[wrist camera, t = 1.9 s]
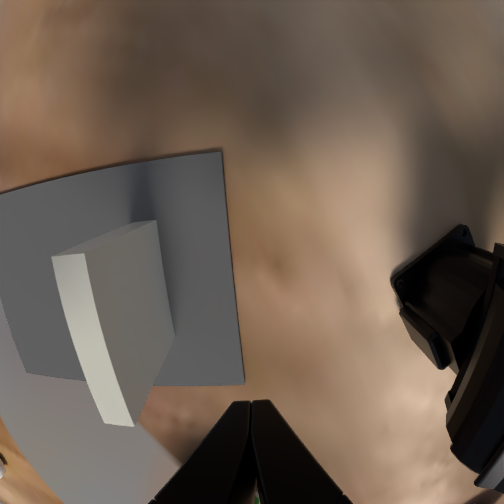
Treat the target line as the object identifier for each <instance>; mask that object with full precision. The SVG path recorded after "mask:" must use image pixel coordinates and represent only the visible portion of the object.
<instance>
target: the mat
mask: <svg viewBox="0 0 504 504" xmlns="http://www.w3.org/2000/svg"><path fill="white" fill-rule="evenodd" d="M150 220H157V227H158V235H159V243H160V250H161V257H162V263H163V270H164V276H165V283H166V289H167V295H168V300H169V306H170V311H171V317H172V322H173V327H174V332H175V338H174V340H173V343H172V345H171V347H170V349H169V351H168V353H167V356H166V358H165V360H164V362H163V364H162V366H161V369H160V371H159V373H158V375H157V377H156V380H155V382H154V384H153V386H221V385H244V384H245V377H244V369H243V360H242V352H241V343H240V334H239V325H238V316H237V307H236V297H235V288H234V278H233V268H232V259H231V248H230V238H229V228H228V217H227V206H226V195H225V184H224V173H223V161H222V152H212V153H203V154H195V155H187V156H179V157H172V158H165V159H158V160H152V161H146V162H140V163H134V164H128V165H122V166H117V167H112V168H106V169H101V170H96V171H92V172H87V173H82V174H78V175H73V176H69V177H64V178H60V179H56V180H52V181H48V182H44V183H40V184H36V185H33V186H29V187H25V188H22V189H18V190H14V191H11V192H8V193H4V194H1V195H0V297H1V301H2V304H3V308H4V311H5V314H6V318H7V321H8V324H9V327H10V330H11V333H12V336H13V339H14V341H15V344H16V347H17V350H18V352H19V355H20V358H21V360H22V362H23V365H24V368H25V370H26V372H27V373H32V374H38V375H44V376H51V377H58V378H66V379H74V380H82V381H86V378H85V375H84V373H83V370H82V367H81V364H80V361H79V359H78V356H77V353H76V350H75V347H74V344H73V340H72V337H71V334H70V331H69V327H68V324H67V321H66V317H65V313H64V310H63V306H62V302H61V298H60V294H59V290H58V286H57V281H56V277H55V272H54V268H53V263H52V258H51V257H52V256H54V255H56V254H58V253H61V252H63V251H65V250H67V249H70V248H72V247H74V246H77V245H79V244H81V243H84V242H86V241H88V240H91V239H93V238H96V237H98V236H100V235H103V234H105V233H108V232H110V231H113V230H115V229H118V228H120V227H123V226H125V225H128V224H130V223H133V222H141V221H150Z"/></svg>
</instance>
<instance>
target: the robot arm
mask: <svg viewBox="0 0 504 504" xmlns="http://www.w3.org/2000/svg"><path fill="white" fill-rule="evenodd" d="M462 230H463V234H462V235H461V231H462ZM400 279H401V280H402V281H401V284H400V285H397V282H398V281H399V280H400ZM391 286H392V288H393V290H394V292H395V294H396V296H397V298H398V300H399V302H400V304H401V306H402V308H401V309H400V312H399V314H400V316H401V318H402V320H403V322H404V324H405V326H406V329H407V331H408V333H409V335H410V337H411V339H412V340H413V341H414V343H415V344H416V345H417V346H418V347H419V348H420V349H421V350H422V351H423V353H424V354H425V355H426V356H427V357H428V358H429V359H430V360H431V361H432V363H433V364H434V365H435V366H436V367H437V368H438V369H440V370H444V369H445V368H446V367H447V366H449V367H450V368H451V369H452V370H453V371H454V373H455V374H456V375H457V377H456V379H455V382H454V384H453V386H452V388H451V390H450V391H448V393H447V395H446V397H445V404H446V408H447V414H446V428H447V431H448V433H449V436H450V439H451V441H452V444H451V446H450V449H451V452H452V453H453V454H454V455H455V457H456V458H457V459H458V460H459V461H460V462H461V463H462V464H463V465H464V466H466V467H467V468H468V469H470V470H471V471H473V472H475V473H477V474H479V475H478V477H477V478H476V479H475V481H474V485H475V486H477V487H482V488H488V489H494V490H496V491H499V492H502V493H504V244H501V243H495V245H494V250H493V253H491V252H489V251H486V250H484V249H481V248H478V247H476V246H475V244H474V241H473V238H472V236H471V233H470V230H469V228H468V226H466V225H463V224H460V225H458V226H457V227H455V228H454V229H453V230H452V231H451V232H449V233H448V234H447V235H446V236H444V237H443V238H442V239H441V240H440V241H438V242H437V243H436V244H435V245H433V246H432V247H431V248H429V249H428V250H427V251H426V252H424V253H423V254H422V255H421V256H419V257H418V258H417V259H415V260H414V261H413V262H411V263H410V264H409V265H407V266H406V267H405V268H403V269H402V270H401V271H399V272H398V273H397V274H395V275H394V276H393V277H392V279H391ZM256 481H257V488H258V494H259V499H260V504H353V503H352V502H351V500H350V499H349V498H348V497H347V496H346V495H343V491H342V490H341V489H340V488H339V487H338V486H337V484H336V483H335V482H334V481H333V480H332V478H331V477H330V476H329V475H328V474H327V472H326V471H325V470H324V469H323V468H322V466H321V465H320V464H319V463H318V461H317V460H316V459H315V458H314V456H313V455H312V454H311V453H310V451H309V450H308V449H307V448H306V446H305V445H304V444H303V443H302V441H301V440H300V439H299V437H298V436H297V435H296V434H295V432H294V431H293V430H292V428H291V427H290V426H289V424H288V423H287V422H286V420H285V419H284V418H283V416H282V415H281V414H280V412H279V411H278V410H277V408H276V407H275V406H274V404H273V403H272V402H271V401H270V400H269V399H264V400H254V401H252V403H251V402H250V401H234V402H232V404H231V405H230V406H229V407H228V409H227V410H226V411H225V413H224V414H223V415H222V417H221V418H220V419H219V420H218V422H217V423H216V424H215V425H214V427H213V428H212V429H211V431H210V432H209V433H208V434H207V436H206V437H205V438H204V439H203V440H202V442H201V443H200V444H199V445H198V447H197V448H196V449H195V450H194V452H193V453H192V454H191V455H190V456H189V458H188V459H187V460H186V461H185V462H184V464H183V465H182V466H181V467H180V468H179V469H178V471H177V472H176V473H175V474H174V475H173V476H172V478H171V479H170V480H169V481H168V482H167V483H166V484H165V486H164V487H163V488H162V489H161V490H160V491H159V492H158V494H157V495H156V496H155V497H154V499H155V500H151V501H150V502H149V503H148V504H254V503H255V494H256Z"/></svg>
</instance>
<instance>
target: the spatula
mask: <svg viewBox="0 0 504 504" xmlns="http://www.w3.org/2000/svg"><path fill="white" fill-rule="evenodd" d="M5 472H6V469H5V466H4V464H3V462H2V460H1V458H0V478H2V476H3V475H4V473H5Z"/></svg>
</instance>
